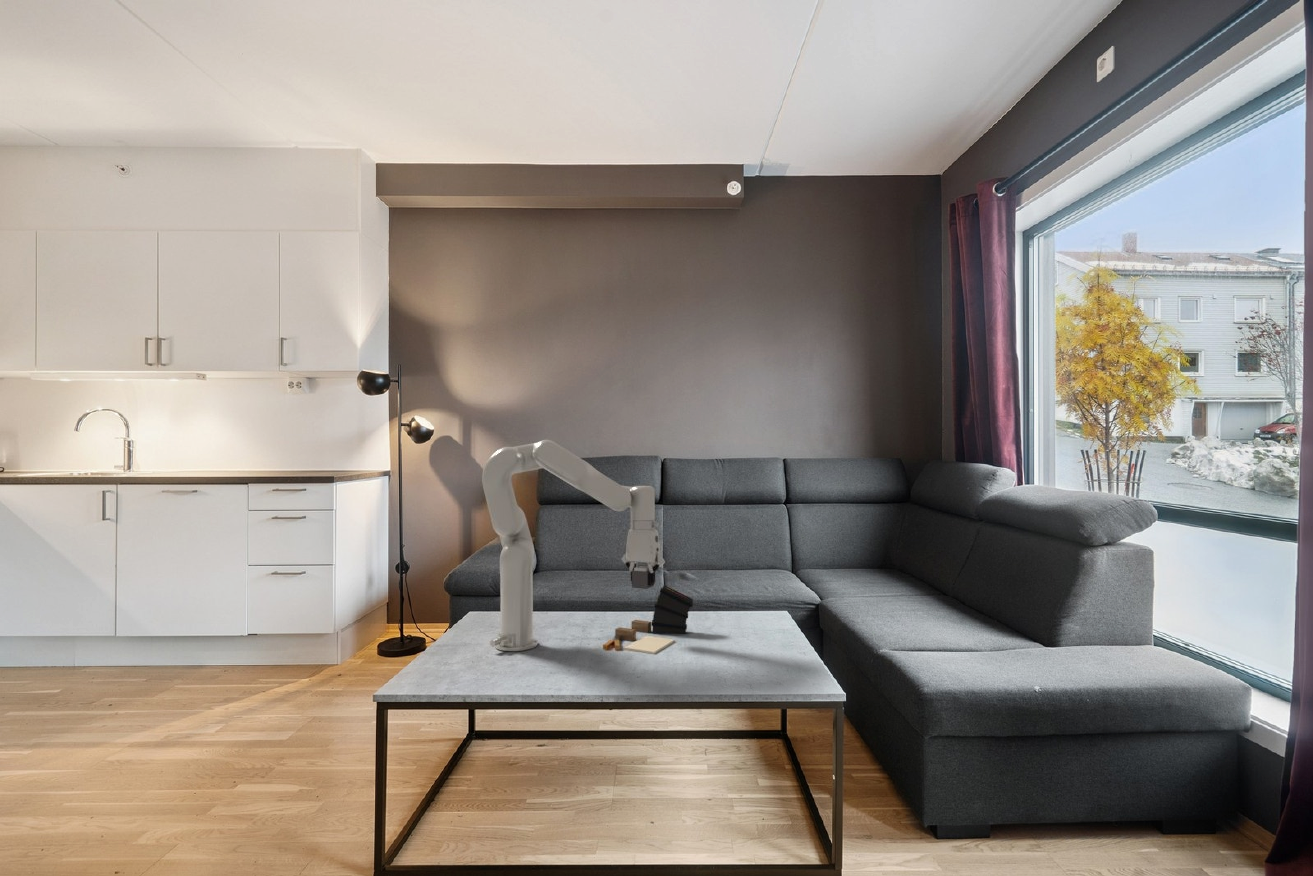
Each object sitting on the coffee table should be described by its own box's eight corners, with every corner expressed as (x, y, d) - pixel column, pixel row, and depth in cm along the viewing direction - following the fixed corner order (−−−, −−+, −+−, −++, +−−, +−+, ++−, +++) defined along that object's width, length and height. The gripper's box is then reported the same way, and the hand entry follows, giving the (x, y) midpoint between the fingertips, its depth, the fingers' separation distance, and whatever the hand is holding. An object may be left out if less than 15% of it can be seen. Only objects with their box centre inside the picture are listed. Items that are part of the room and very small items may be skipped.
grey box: (646, 589, 198) (646, 569, 198) (632, 587, 200) (632, 568, 200) (653, 586, 202) (653, 566, 202) (639, 584, 204) (639, 565, 204)
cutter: (619, 650, 191) (619, 645, 191) (602, 650, 191) (602, 645, 191) (625, 639, 202) (625, 635, 202) (609, 639, 202) (609, 634, 202)
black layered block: (643, 625, 212) (662, 584, 212) (679, 643, 211) (699, 601, 211) (642, 628, 208) (662, 586, 208) (679, 646, 208) (699, 604, 208)
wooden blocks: (632, 641, 200) (632, 631, 200) (615, 638, 203) (615, 629, 203) (651, 631, 212) (651, 621, 212) (635, 628, 214) (635, 619, 214)
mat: (654, 654, 187) (654, 652, 187) (624, 649, 191) (624, 647, 191) (674, 641, 199) (674, 639, 199) (646, 637, 204) (646, 635, 204)
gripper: (672, 525, 201) (672, 584, 201) (624, 523, 208) (624, 580, 208) (662, 528, 194) (662, 589, 194) (612, 525, 202) (613, 584, 201)
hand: (642, 583), depth 201 cm, fingers closed on grey box, 5 cm apart
